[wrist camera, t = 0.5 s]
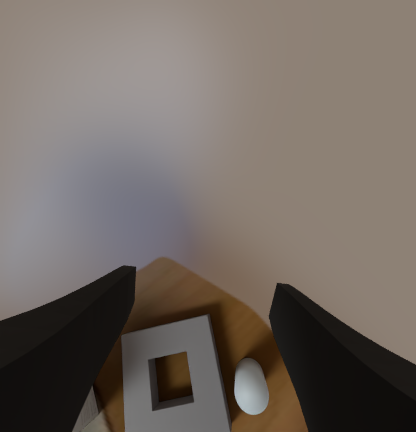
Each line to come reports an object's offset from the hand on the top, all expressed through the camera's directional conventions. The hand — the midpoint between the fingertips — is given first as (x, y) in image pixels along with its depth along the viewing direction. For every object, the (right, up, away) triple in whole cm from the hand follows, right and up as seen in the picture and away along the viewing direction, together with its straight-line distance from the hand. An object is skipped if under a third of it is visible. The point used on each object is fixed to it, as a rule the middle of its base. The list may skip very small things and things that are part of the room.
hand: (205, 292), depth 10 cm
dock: (-5, -20, +20) cm, 29 cm away
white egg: (+6, -19, +19) cm, 28 cm away
